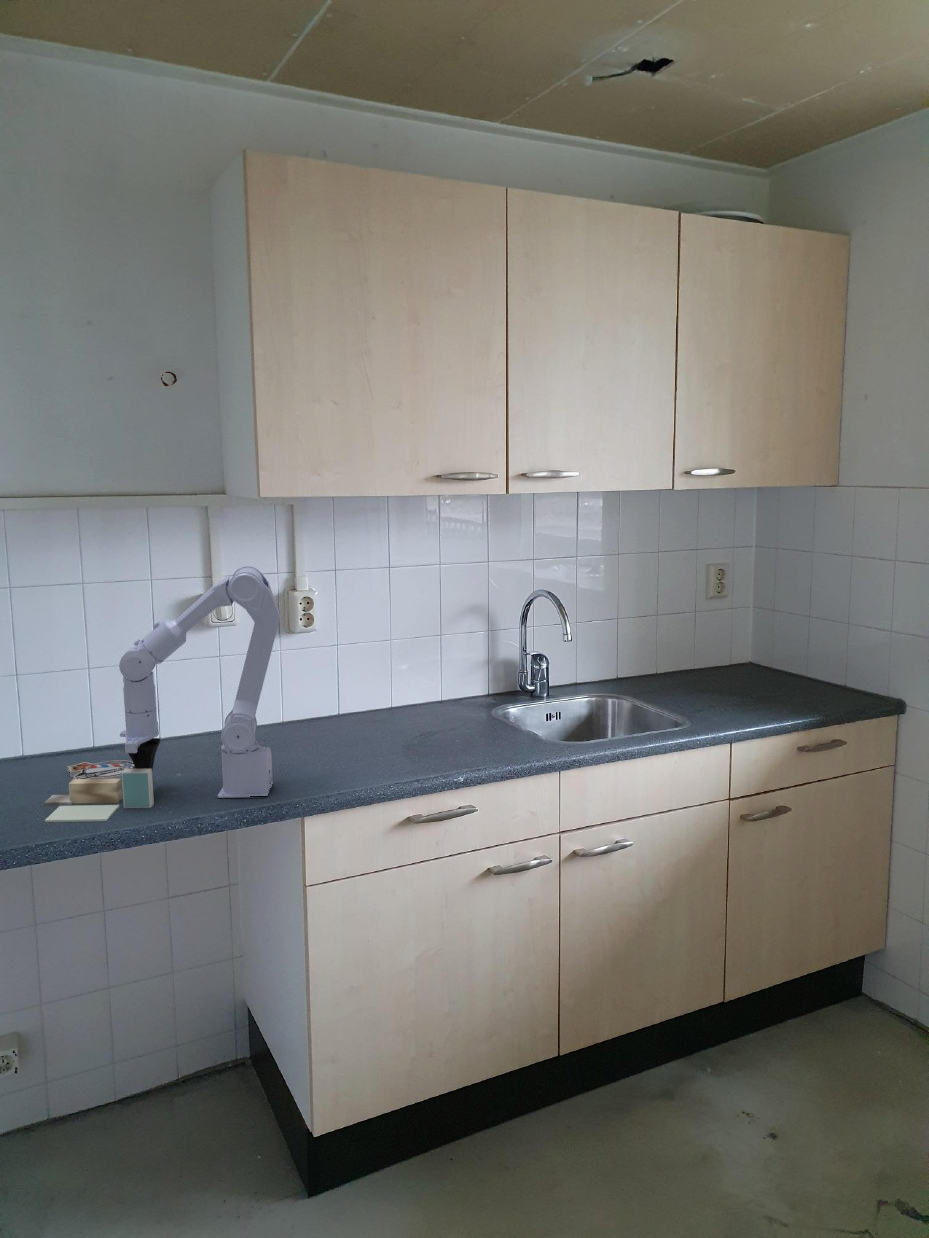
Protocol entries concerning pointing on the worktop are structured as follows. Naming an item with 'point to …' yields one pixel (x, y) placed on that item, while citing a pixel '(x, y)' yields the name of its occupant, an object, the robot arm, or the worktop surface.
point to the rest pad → (82, 813)
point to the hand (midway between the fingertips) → (144, 777)
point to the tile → (137, 788)
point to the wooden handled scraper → (89, 792)
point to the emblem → (100, 770)
